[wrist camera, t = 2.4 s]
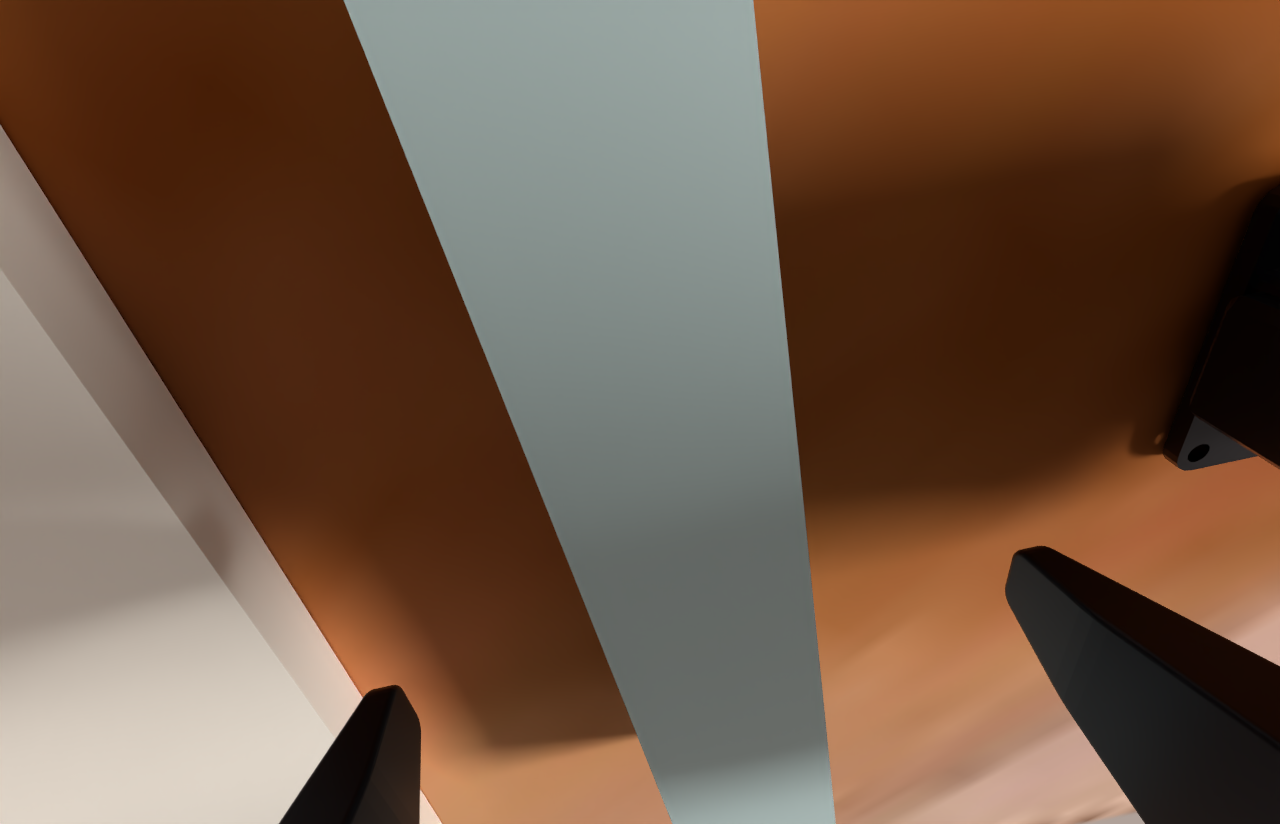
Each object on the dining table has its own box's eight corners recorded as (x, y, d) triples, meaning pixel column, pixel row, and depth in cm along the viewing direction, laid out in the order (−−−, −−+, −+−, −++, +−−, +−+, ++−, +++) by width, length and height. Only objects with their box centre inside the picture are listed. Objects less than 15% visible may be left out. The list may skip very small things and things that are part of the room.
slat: (585, -225, 8) (692, -598, 3) (762, 699, 19) (848, 950, 14) (387, -174, 8) (161, -460, 3) (679, 722, 19) (735, 982, 14)
